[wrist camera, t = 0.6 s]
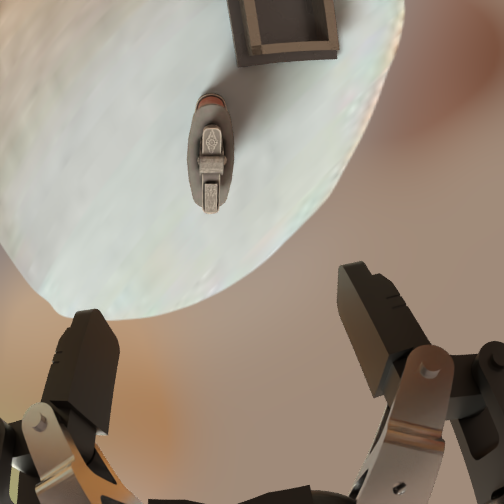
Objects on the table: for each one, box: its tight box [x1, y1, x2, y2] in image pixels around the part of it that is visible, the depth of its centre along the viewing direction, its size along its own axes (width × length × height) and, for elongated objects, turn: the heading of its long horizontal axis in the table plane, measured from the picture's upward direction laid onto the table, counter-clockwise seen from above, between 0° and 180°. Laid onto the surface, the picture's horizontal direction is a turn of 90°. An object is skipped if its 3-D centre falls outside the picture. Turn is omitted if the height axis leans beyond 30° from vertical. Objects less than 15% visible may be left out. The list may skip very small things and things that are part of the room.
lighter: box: [187, 93, 234, 214], centre depth 24 cm, size 8×3×10 cm, turn 176°
